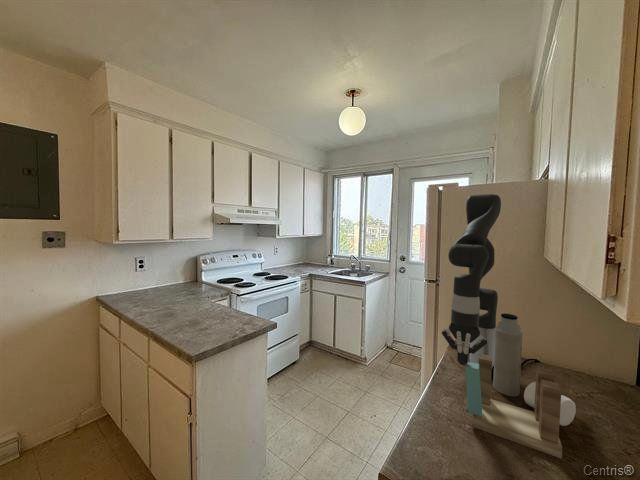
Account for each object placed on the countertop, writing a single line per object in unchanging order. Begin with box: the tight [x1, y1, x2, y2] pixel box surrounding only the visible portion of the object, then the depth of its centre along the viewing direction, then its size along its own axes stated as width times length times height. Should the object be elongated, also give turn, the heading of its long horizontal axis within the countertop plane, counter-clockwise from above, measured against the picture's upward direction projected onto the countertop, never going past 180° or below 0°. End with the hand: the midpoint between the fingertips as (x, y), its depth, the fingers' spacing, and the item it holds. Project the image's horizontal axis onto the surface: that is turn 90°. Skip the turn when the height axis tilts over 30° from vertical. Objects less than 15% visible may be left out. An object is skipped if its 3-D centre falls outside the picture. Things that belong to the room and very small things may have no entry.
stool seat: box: [472, 354, 563, 459], centre depth 79 cm, size 13×20×18 cm, turn 58°
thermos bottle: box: [492, 313, 523, 397], centre depth 97 cm, size 8×8×28 cm
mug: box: [523, 381, 577, 427], centre depth 85 cm, size 12×10×8 cm
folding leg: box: [464, 361, 482, 416], centre depth 81 cm, size 4×4×14 cm
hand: (462, 363), depth 82 cm, fingers closed
